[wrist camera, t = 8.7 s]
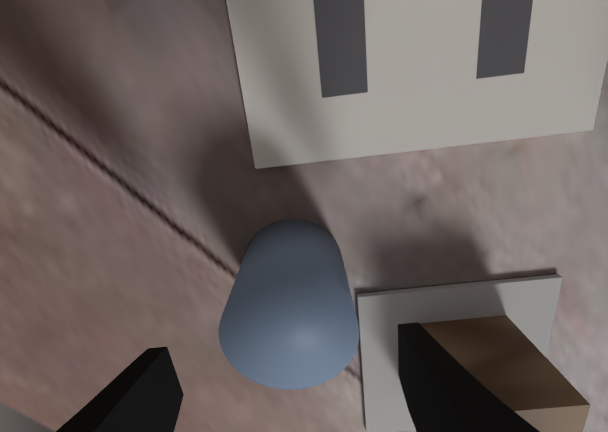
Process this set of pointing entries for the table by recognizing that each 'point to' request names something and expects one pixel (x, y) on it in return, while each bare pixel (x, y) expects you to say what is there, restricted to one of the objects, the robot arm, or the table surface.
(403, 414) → the grey mat
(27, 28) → the table surface
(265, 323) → the blue cylinder
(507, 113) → the letter card
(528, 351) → the walnut block
